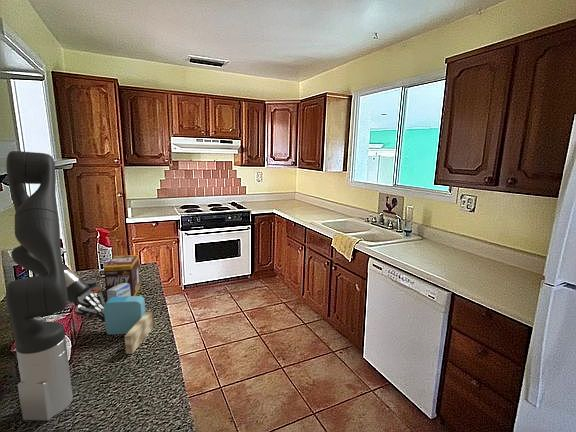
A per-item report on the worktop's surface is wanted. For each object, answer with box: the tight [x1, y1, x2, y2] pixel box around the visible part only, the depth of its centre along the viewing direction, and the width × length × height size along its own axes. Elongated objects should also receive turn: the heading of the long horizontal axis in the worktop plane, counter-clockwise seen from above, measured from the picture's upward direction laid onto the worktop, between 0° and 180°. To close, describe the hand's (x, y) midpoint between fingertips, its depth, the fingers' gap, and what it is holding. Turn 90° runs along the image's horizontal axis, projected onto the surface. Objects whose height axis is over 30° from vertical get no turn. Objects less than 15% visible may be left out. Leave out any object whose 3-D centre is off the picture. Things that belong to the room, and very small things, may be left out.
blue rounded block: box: [104, 295, 147, 336], centre depth 110 cm, size 12×4×12 cm, turn 97°
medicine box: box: [106, 283, 131, 300], centre depth 128 cm, size 8×4×9 cm, turn 169°
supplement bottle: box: [84, 279, 101, 294], centre depth 126 cm, size 6×6×11 cm
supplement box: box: [103, 254, 141, 302], centre depth 139 cm, size 10×15×16 cm
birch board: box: [124, 310, 155, 355], centre depth 106 cm, size 16×2×6 cm, turn 0°
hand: (108, 319), depth 111 cm, fingers closed
